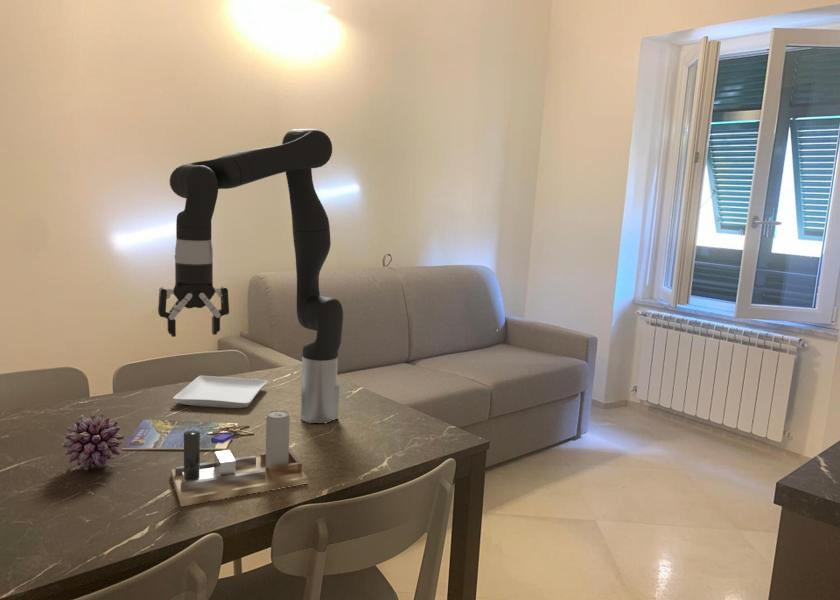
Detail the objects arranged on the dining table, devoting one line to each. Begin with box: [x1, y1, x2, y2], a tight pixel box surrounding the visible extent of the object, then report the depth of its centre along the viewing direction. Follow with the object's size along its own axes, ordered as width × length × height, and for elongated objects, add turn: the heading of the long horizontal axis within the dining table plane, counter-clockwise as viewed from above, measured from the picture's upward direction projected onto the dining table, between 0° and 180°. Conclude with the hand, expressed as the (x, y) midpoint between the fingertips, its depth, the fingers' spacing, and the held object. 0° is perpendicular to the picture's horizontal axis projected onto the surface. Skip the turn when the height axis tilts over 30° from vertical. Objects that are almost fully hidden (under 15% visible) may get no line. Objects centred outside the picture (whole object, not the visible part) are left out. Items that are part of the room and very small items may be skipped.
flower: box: [60, 412, 125, 471], centre depth 134 cm, size 12×12×12 cm
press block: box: [182, 430, 236, 482], centre depth 129 cm, size 10×6×10 cm, turn 118°
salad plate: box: [172, 375, 268, 409], centre depth 183 cm, size 21×21×3 cm
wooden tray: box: [170, 448, 309, 507], centre depth 133 cm, size 25×14×4 cm, turn 118°
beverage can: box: [265, 409, 291, 470], centre depth 136 cm, size 5×5×12 cm
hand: (194, 334), depth 139 cm, fingers open, 8 cm apart
